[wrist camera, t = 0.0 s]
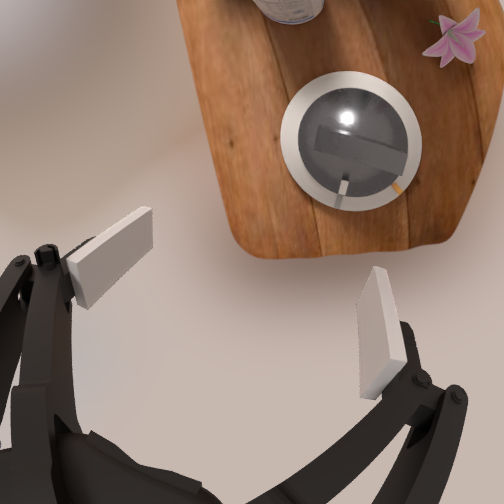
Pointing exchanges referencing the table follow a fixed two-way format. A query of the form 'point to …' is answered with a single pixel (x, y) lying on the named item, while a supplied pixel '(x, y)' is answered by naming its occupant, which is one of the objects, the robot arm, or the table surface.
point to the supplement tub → (290, 10)
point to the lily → (456, 39)
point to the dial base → (292, 127)
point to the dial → (353, 142)
